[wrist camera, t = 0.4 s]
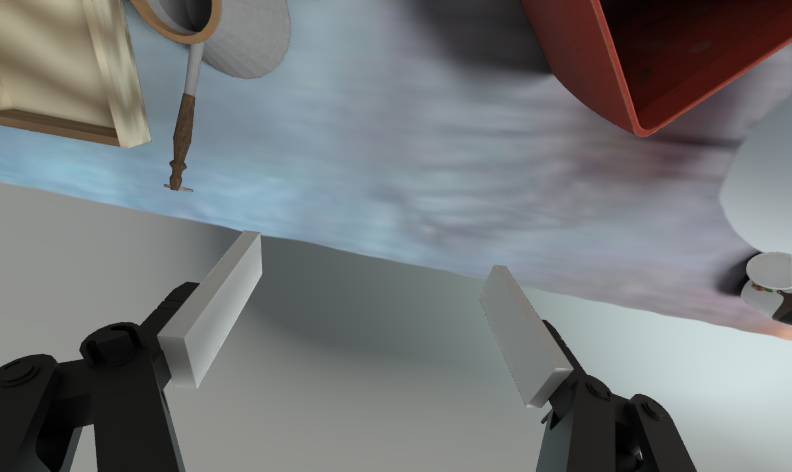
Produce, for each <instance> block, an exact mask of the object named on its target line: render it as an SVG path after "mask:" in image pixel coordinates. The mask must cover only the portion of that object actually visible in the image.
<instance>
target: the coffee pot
mask: <svg viewBox="0 0 792 472" xmlns="http://www.w3.org/2000/svg"><path fill="white" fill-rule="evenodd" d="M131 2H132V4H133V5H134V7H135V8H136V10H137V11H138V13H139V14H140V15H141V17H142V18H143V19H144V20H145V21H146V22H147V23H148V24H149V25H150V26H151V27H152V28H153V29H155V30H156V31H157V32H159V33H160V34H161V35H163V36H164V37H166V38H168V39H171V40H173V41H175V42H178V43H183V44H189V45H190V51H189V59H188V67H187V75H186V83H185V91H184V93H183V96H182V101H181V105H180V110H179V114H178V118H177V123H176V127H175V132H174V136H173V141H174V160H172V161H171V162H170V163H169V164H170V166H171V167H172V169H173V170H172V173H173V174H172V175H171V176H170V185H167V184H164V186H165V187H168V188H170V189H171V190H176V191H178V190H181V191H187V192H193V190H192V189H188V188H184V187H180V185H181V182H182V177H181V175H182V171H183V170H184V169H186V168H187V166H186V164H185V163H184V160H185V157H186V154H187V151H188V148H189V146H190V143H191V137H192V126H193V116H194V106H195V91H196V86H197V81H198V76H199V71H200V66H201V60H202V59H203V60H204V61H206V62H207V63H208V64H210V65H211V66H213V67H214V68H215V69H217V70H218V71H221V72H223V73H225V74H227V75H230V76H232V77H237V78H243V79H252V78H260V77H262V76H264V75H266V74H268V73H271V72H272V71H273V70H274V69H275V68H276V67H277V66H278V65H279V64H280V63H281V62H282V60H283V58H284V56H285V54H286V52H287V50H288V46H289V41H290V36H291V23H290V14H289V10H288V6H287V2H286V0H131Z"/></svg>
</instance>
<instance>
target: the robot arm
mask: <svg viewBox="0 0 792 472" xmlns="http://www.w3.org/2000/svg"><path fill="white" fill-rule="evenodd" d="M261 275H262V261H261V239H260V232H253V231H246V230H244V232H243V233H242V234H241V235H240V236H239V238H238V239H237V240H236V241H235V242H234V244H233V245H232V246H231V247H230V248H229V250H228V251H227V252H226V253H225V254H224V256H223V257H222V258H221V259H220V260H219V262H218V263H217V264H216V265H215V266H214V268H213V269H212V270H211V271H210V272H209V274H208V275H207V276H206V277H205V278H204V280H203V281H202V282H201V283H193V282H186V283H184V284H182V285H180V286H179V287H177V288H175V289H174V290H173V291H172V292H171V293H170V294H169V295H168V296H167V297H166V298H165V301H162V303H161V304H160V305H159V306H158V307H157V309H155V310H154V311H153V312H152V313H151V314H150V315H149V316H148V318H147V319H146V320H145V321H144V322H143V323H142V324H141V325H140V326H139V325H137V324H134V323H131V322H120V323H115V324H110V325H108V326H105V327H103V328H100V329H98V330H97V331H95V332H93V333H92V334H90V335H89V336H88V337H87V338H86V339H85V340H84V341H83V342H82V343H81V346H80V349H79V350H80V352H81V355H82V356H83V358H84V359H81V360H75V361H69V362H63V363H57V361H56V360H55V359H54V358H53V357H52V356H51V355H45V354H38V355H29V356H26V357H22V358H19V359H16V360H14V361H12V362H10V363H8V364H6V365H3V366H1V367H0V472H69V471H70V468H71V465H72V461H73V458H74V455H75V451H76V448H77V444H78V441H79V438H80V435H81V431H82V428H83V426H87V425H91V424H94V431H95V445H96V457H97V468H98V472H185V468H184V464H183V460H182V456H181V453H180V449H179V445H178V441H177V438H176V434H175V430H174V427H173V423H172V419H171V415H170V411H169V408H168V404H167V400H166V397H165V393H164V390H163V389H164V387H165V386H166V384H167V383H168V382H169V380H170V379H171V380H172V383H173V386H174V387H176V388H195V389H197V388H198V386H199V384H200V382H201V381H202V379H203V377H204V376H205V374H206V372H207V370H208V368H209V367H210V365H211V363H212V361H213V360H214V358H215V356H216V354H217V353H218V351H219V349H220V347H221V346H222V344H223V342H224V340H225V339H226V337H227V335H228V333H229V332H230V330H231V328H232V326H233V324H234V323H235V321H236V319H237V317H238V316H239V314H240V312H241V310H242V309H243V306H244V305H245V303H246V302H247V300H248V298H249V296H250V294H251V293H252V291H253V289H254V287H255V286H256V284H257V282H258V280H259V278H260V277H261ZM478 300H479V302H480V304H481V307H482V309H483V311H484V313H485V316H486V318H487V320H488V323H489V325H490V327H491V329H492V332H493V334H494V336H495V338H496V341H497V343H498V345H499V348H500V350H501V352H502V354H503V357H504V359H505V361H506V364H507V366H508V368H509V370H510V373H511V375H512V377H513V379H514V382H515V384H516V386H517V388H518V391H519V393H520V395H521V397H522V400H523V402H524V404H525V406H526V407H536V408H542V407H543V405H544V404H545V403H546V402H547V401H548V400H549V402H550V404H551V405H552V409H551V410H550V411H549V413H548V414H547V415H546V416H545V417H544V418H543V420H542V421H541V423H542V424H544V423H545V422H546V421H547V424H546V428H545V433H544V437H543V442H542V446H541V450H540V455H539V459H538V464H537V468H536V472H697V471H696V469H695V466H694V465H693V462H692V460H691V458H690V456H689V454H688V452H687V450H686V448H685V445H684V444H683V441H682V439H681V437H680V435H679V433H678V431H677V428H676V426H675V424H674V422H673V420H672V418H671V417H670V415H669V414H668V412H667V411H666V410H665V409H664V408H663V407H662V406H661V405H660V404H659V403H657V402H656V401H655V400H653V399H651V398H650V397H648V396H646V395H642V394H635V395H634V396H633V397H632V398H631V399H630V400H628V399H626V398H623V397H621V396H618V395H615V394H612V392H611V391H610V389H609V388H608V387H607V386H606V385H605V384H604V383H603V382H601V381H600V380H598V379H597V378H595V377H593V376H591V375H587V374H586V373H585V371H584V370H583V368H582V367H581V366H580V364H579V363H578V361H577V360H576V358H575V357H574V355H573V354H572V352H571V351H570V349H569V348H568V347H567V346H566V344H565V342H564V341H563V340H562V339H561V336H560V335H559V333H558V332H557V331H556V329H555V328H554V327H553V326H552V325H551V324H550V323H548V322H547V321H546V320H541V319H540V317H539V316H538V315H537V313H536V311H535V309H534V308H533V306H532V305H531V303H530V302H529V300H528V299H527V297H526V296H525V294H524V293H523V291H522V290H521V288H520V287H519V285H518V284H517V282H516V281H515V279H514V278H513V276H512V275H511V273H510V272H509V270H508V269H507V267H506V266H499V265H494V266H493V268H492V271H491V273H490V275H489V277H488V279H487V281H486V283H485V285H484V288H483V290H482V292H481V294H480V296H479V298H478ZM640 451H641V453H642V458H643V459H642V458H641V455H640Z"/></svg>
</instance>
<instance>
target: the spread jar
mask: <svg viewBox="0 0 792 472" xmlns="http://www.w3.org/2000/svg"><path fill="white" fill-rule="evenodd" d="M746 272H747V275H746V276H745V277H744V278H743V279H742V281H741V283H740V285H739V295H740V297H741V299H742V300H743V301H744V302H745V303H746V304H748V305H749V306H751V307H752V308H754V309H755V310H757V311H759V312H760V313H762V314H763V315H765V316H767V317H768V318H770V319H772V320H774V321H777V322H779V323H782V324H785V325H789V326H792V255H791V254H786V253H781V252H768V253H762V254H759V255H757V256H755V257H753V258H752V259H751V260H750V261H749V262H748V264H747V267H746Z"/></svg>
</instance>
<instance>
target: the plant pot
mask: <svg viewBox="0 0 792 472" xmlns="http://www.w3.org/2000/svg"><path fill="white" fill-rule="evenodd" d="M520 1H521V3H522V6H523V8H524V10H525V13H526V15H527V17H528V19H529V22H530V24H531V26H532V28H533V30H534V33H535V35H536V37H537V40H538V42H539V44H540V47H541V49H542V51H543V53H544V56H545V58H546V60H547V62H548V64H549V67H550V69H551V71H552V73H553V74H554V75H555V77H556V78H557V79H558V80H559V81H560V82H561V83H562V84H563V86H564V87H565V88H566V89H567V90H568V91H570V92H571V93H572V94H573V95H574V96H575V97H576V98H577V99H578V100H580V101H581V102H582V103H583V104H584V105H586V106H587V107H589V108H590V109H591V110H593V111H594V112H596V113H597V114H598V115H600V116H602V117H603V118H605V119H607V120H608V121H610V122H611V123H613V124H615V125H617V126H618V127H620V128H622V129H624V130H626V131H628V132H630V133H632V134H635V135H637V136H640V137H644V136H648V135H650V134H652V133H654V132H656V131H657V130H658V129H660V128H661V127H663V126H665V125H666V124H668V123H669V122H671V121H672V120H674V119H675V118H677V117H678V116H680V115H681V114H683V113H684V112H686V111H687V110H689V109H690V108H692V107H693V106H695V105H696V104H698V103H699V102H701V101H703V100H704V99H706V98H707V97H709V96H710V95H712V94H713V93H715V92H716V91H718V90H719V89H721V88H722V87H724V86H725V85H727V84H728V83H730V82H732V81H733V80H735V79H736V78H738V77H739V76H741V75H742V74H744V73H745V72H747V71H748V70H750V69H751V68H753V67H754V66H756V65H757V64H759V63H760V62H762V61H764V60H765V59H767V58H768V57H770V56H771V55H773V54H774V53H775V52H777V51H779V50H780V49H782V48H783V47H785V46H786V45H788V44H789V43H791V42H792V0H520Z"/></svg>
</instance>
